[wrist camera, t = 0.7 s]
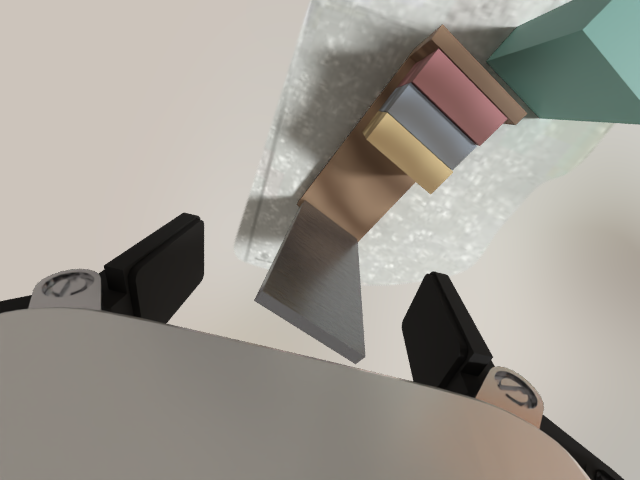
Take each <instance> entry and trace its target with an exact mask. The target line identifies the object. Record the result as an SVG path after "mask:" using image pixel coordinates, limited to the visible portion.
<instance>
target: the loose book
mask: <svg viewBox="0 0 640 480" xmlns="http://www.w3.org/2000/svg"><path fill="white" fill-rule="evenodd" d="M486 62H487V63H488V64H489V65H490V66H491V67H492V68H493V69H494V71H495V72H496V73H497V74H498V75H499V76H500V77H501V78H502V79H503V80H504V81H505V82H506V83H507V84H508V85H509V86H510V87H511V89H512V90H513V91H514V92H515V93H516V94H517V95H518V96H519V97H520V98H521V99H522V100H523V101H524V102H525V103H526V104H527V105H528V107H529V108H530V109H531V110H532V111H533V112H534V113H535V114H536V115H537V116H538V117H539V118H542V119H559V120H575V121H592V122H608V123H625V124H640V0H573V1H570V2H568V3H566V4H564V5H562V6H560V7H558V8H556V9H554V10H551V11H549V12H547V13H545V14H543V15H541V16H539V17H537V18H535V19H533V20H530V21H528V22H526V23H524V24H522V25H520V26H518V27H516V28H515V30H514V31H513V32H512V33H511V34H510V35H509V36H508V37H507V39H506V40H505V41H504V42H503V43H502V44H501V45H500V46H499V48H498V49H497V50H496V51H495V52H494V53H493V54H492V55H491V56H490V58H489V59H488V60H487V61H486Z"/></svg>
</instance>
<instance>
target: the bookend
mask: <svg viewBox="0 0 640 480" xmlns="http://www.w3.org/2000/svg"><path fill="white" fill-rule="evenodd" d="M254 301H256V302H257V303H259V304H260V305H262V306H264V307H265V308H267V309H268V310H270V311H272V312H273V313H275V314H276V315H278V316H280V317H281V318H283V319H285V320H286V321H288V322H289V323H291V324H292V325H294V326H296V327H297V328H299V329H300V330H302V331H304V332H305V333H307V334H308V335H310V336H312V337H313V338H315V339H316V340H318V341H320V342H321V343H323V344H324V345H326V346H327V347H329V348H331V349H333V350H334V351H336V352H337V353H339V354H340V355H342V356H343V357H345V358H347V359H348V360H350V361H352V362H353V363H355V364H356V363H358V362H359V361H360V360H361V359H363V358H364V357H365V345H364V330H363V315H362V301H361V286H360V271H359V256H358V241H357V238H355V237H354V236H353V235H351V234H350V233H349V232H347V231H346V230H345V229H343V228H342V227H341V226H339V225H338V224H337V223H335V222H334V221H333V220H331V219H330V218H329V217H327V216H326V215H325V214H323V213H322V212H321V211H319V210H318V209H317V208H315V207H314V206H313V205H311V204H310V203H309V202H307V201H306V200H304V202H303V203H302V204H301V206H300V207H299V209H298V212H297V214H296V216H295V218H294V220H293V222H292V224H291V226H290V228H289V230H288V232H287V234H286V236H285V238H284V240H283V242H282V244H281V246H280V249H279V251H278V253H277V255H276V257H275V259H274V261H273V263H272V265H271V267H270V269H269V271H268V273H267V275H266V277H265V280H264V281H263V284H262V285H261V288H260V290H259V292H258V294H257V296H256V298H255V300H254Z"/></svg>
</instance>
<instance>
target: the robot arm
mask: <svg viewBox="0 0 640 480" xmlns="http://www.w3.org/2000/svg"><path fill="white" fill-rule="evenodd" d="M104 269H105V270H103V271H102V272H100V273H99V274H98V273H97V272H95V271H92V270H88V269H71V270H66V271H61V272H58V273H55V274H52V275H50V276H48V277H46V278H44V279H42V280H41V281H40V282H39V283H38V284H37V285H36V286H35V288H34V290H33V293H32V295H30V296H25V297H20V298H15V299H10V300H5V301H0V480H624V479H623V478H621V477H620V476H619V475H618V474H617V473H616V472H615V471H613V470H612V469H611V468H610V467H609V466H607V465H606V464H605V463H603V462H602V461H601V460H600V459H598V458H597V457H596V456H594V455H593V454H592V453H591V452H590V451H588V450H587V449H586V448H584V447H583V446H582V445H581V444H579V443H578V442H577V441H575V440H574V439H573V438H572V437H571V436H569V435H568V434H567V433H565V432H564V431H563V430H562V429H560V428H559V427H558V426H557V425H555V424H554V423H553V422H552V421H550V420H549V419H548V418H546V417H545V416H544V415H543V411H544V406H543V405H544V404H543V401H542V398H541V396H540V395H539V394H538V392H537V391H536V389H535V388H534V387H533V386H532V385H531V384H530V383H529V382H528V381H527V380H526V379H525V378H523V377H522V376H521V375H519V374H518V373H516V372H514V371H512V370H510V369H508V368H505V367H500V366H497V367H495V366H494V364H493V363H492V361H491V359H492V358H493V356H492V354H491V353H490V351H489V349H488V347H487V345H486V344H485V342H484V340H483V338H482V336H481V334H480V333H479V331H478V329H477V328H476V325H475V323H474V322H473V320H472V318H471V316H470V315H469V313H468V311H467V309H466V307H465V305H464V304H463V302H462V300H461V298H460V296H459V295H458V293H457V291H456V289H455V287H454V286H453V284H452V282H451V280H450V278H449V276H448V275H446V274H442V273H437V272H431V273H430V274H426V275H425V277H424V279H423V281H422V283H421V285H420V287H419V289H418V291H417V293H416V295H415V297H414V299H413V301H412V303H411V305H410V307H409V309H408V311H407V313H406V316H405V317H404V319H403V322H402V331H403V336H404V340H405V345H406V350H407V354H408V359H409V363H410V368H411V372H412V377H413V381H409V380H405V379H401V378H396V377H392V376H388V375H384V374H379V373H376V372H371V371H367V370H363V369H359V368H355V367H350V366H346V365H342V364H338V363H334V362H330V361H326V360H321V359H317V358H313V357H309V356H304V355H300V354H296V353H292V352H287V351H283V350H279V349H274V348H270V347H266V346H262V345H257V344H253V343H249V342H245V341H240V340H236V339H231V338H227V337H222V336H218V335H214V334H210V333H205V332H201V331H196V330H192V329H187V328H183V327H178V326H174V325H170V324H166V323H167V322H168V321H169V320H170V318H171V317H172V316H173V315H174V314H175V312H176V311H177V310H178V309H179V308H180V306H181V305H182V304H183V303H184V302H185V300H186V299H187V298H188V297H189V296H190V294H191V293H192V292H193V291H194V290H195V288H196V287H197V286H198V285H199V284H200V282H201V281H202V279H203V276H204V222H203V221H202V220H200V217H199V216H196V215H192V214H188V213H182V214H181V215H179V216H178V217H176V218H175V219H174V220H172V221H170V222H169V223H167V224H166V225H164V226H163V227H161V228H160V229H159V230H157V231H155V232H154V233H152V234H151V235H149V236H148V237H146V238H145V239H143V240H142V241H140V242H139V243H137V244H136V245H134V246H133V247H131V248H130V249H128V250H127V251H125V252H124V253H122V254H121V255H119V256H118V257H116V258H115V259H113V260H112V261H110V262H109V263H107V264H106V265H104Z"/></svg>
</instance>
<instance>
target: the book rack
mask: <svg viewBox="0 0 640 480" xmlns="http://www.w3.org/2000/svg"><path fill="white" fill-rule="evenodd" d="M526 115H527V113H526V111H525V110H524V109H523V108H522V107H521V106H520V105H519V104H518V103H517V102H516V101H515V100H514V99H513V98H512V97H511V96H510V95H509V94H508V93H507V92H506V90H505V89H504V88H503V87H502V86H501V85H500V84H499V83H498V82H497V81H496V80H495V79H494V78H493V77H492V76H491V75H490V74H489V73H488V72H487V71H486V69H485V68H484V67H483V66H482V65H481V64H480V63H479V62H478V61H477V60H476V59H475V58H474V57H473V56H472V55H471V54H470V53H469V52H468V51H467V50H466V48H465V47H464V46H463V45H462V44H461V43H460V42H459V41H458V40H457V39H456V38H455V37H454V36H453V35H452V34H451V33H450V32H449V31H448V30H447V29H446V27H445V26H444V25H443V24H442V25H441V26H440V27H439V28H438V29H437V30H435V31H434V32H433V33H432V34H431V35H430V36H429V37H427V38H426V39H425V40H424V41H423V42H422V43H421V44H419V45H418V46H417V47H416V48H415V49H414V50H413V51H412V53H411V54H410V55H409V57H408V58H407V59H406V61H405V62H404V63H403V65H402V66H401V67H400V69H399V70H398V71H397V73H396V74H395V75H394V76H393V78H392V79H391V80H390V82H389V83H388V84H387V86H386V87H385V88H384V90H383V91H382V92H381V94H380V95H379V96H378V98H377V99H376V100H375V101H374V103H373V104H372V105H371V107H370V108H369V109H368V111H367V112H366V113H365V115H364V116H363V117H362V119H361V120H360V121H359V122H358V124H357V125H356V126H355V128H354V129H353V130H352V132H351V133H350V134H349V136H348V137H347V138H346V140H345V141H344V142H343V144H342V145H341V146H340V147H339V149H338V150H337V151H336V153H335V154H334V155H333V157H332V158H331V159H330V161H329V162H328V163H327V165H326V166H325V167H324V168H323V170H322V171H321V172H320V174H319V175H318V176H317V178H316V179H315V180H314V182H313V183H312V184H311V186H310V187H309V188H308V190H307V191H306V192H305V193H304V195H303V196H302V197H301V199H300V200H299V201H298V203H297V205H298V206H299V207H300V206H301V204H302V203H303V202H304V200H306V201H307V202H309V203H310V204H311V205H313V206H314V207H315V208H317V209H318V210H319V211H321V212H322V213H323V214H325V215H326V216H327V217H329V218H330V219H331V220H333V221H334V222H335V223H337V224H338V225H339V226H341V227H342V228H343V229H345V230H346V231H347V232H349V233H350V234H351V235H353V236H354V237H355V238H357V241H359V240H360V239H361V238H362V237H363V236H364V235H365V234H366V233H367V232H368V231H369V230H370V229H371V228H372V227H373V226H374V225H375V224H376V223H377V222H378V221H379V220H380V219H381V217H382V216H383V215H384V214H385V213H386V212H387V211H388V210H389V209H390V208H391V207H392V206H393V205H394V204H395V203H396V202H397V201H398V200H399V199H400V198H401V197H402V196H403V195H404V194H405V193H406V191H407V190H408V189H409V188H410V187H411V186H412V185H413V184H414V183H415V182H417V183H418V184H419V185H420V186H421V187H422V188H424V189H425V190H426V191H427V192H428V193H429V194H432V193H433V192H434V191H435V190H436V189H437V188H438V187H439V186H440V185H441V184H442V183H443V182H444V181H445V180H446V179H447V178H448V177H449V176H450V175H451V174H452V173H453V171H452V170H453V169H454V168H455V167H456V166H457V165H458V164H459V163H460V162H461V161H462V160H463V159H464V158H465V157H466V156H467V155H468V154H469V153H470V152H471V151H472V150H473V149H475V148H476V147H477V146H476V145H479V146H480V145H481V144H482V143H483V142H485V141H486V140H487V139H488V138H489V137H490V136H491V135H492V134H493V133H494V132H495V131H496V130H497V129H498V128H499V127H500V126H501V125H502V124H511V125H516V124H517V123H518V122H519V121H520V120H521V119H522V118H523V117H524V116H526ZM449 168H450V169H449Z"/></svg>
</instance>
